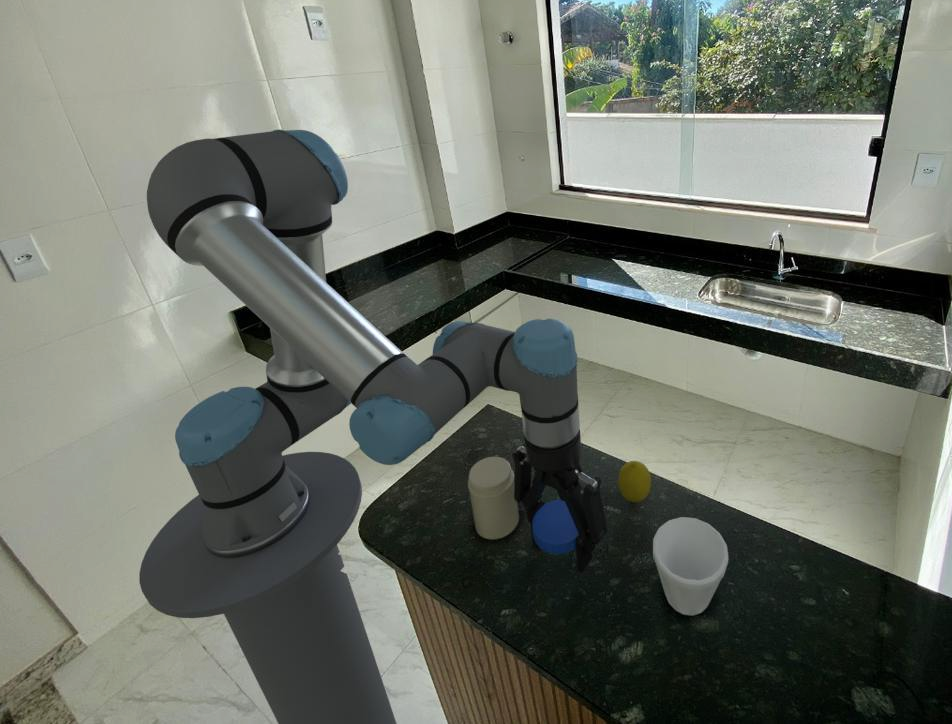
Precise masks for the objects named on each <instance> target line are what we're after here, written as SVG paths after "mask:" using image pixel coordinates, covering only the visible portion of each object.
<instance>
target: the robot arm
mask: <svg viewBox="0 0 952 724" xmlns="http://www.w3.org/2000/svg"><path fill="white" fill-rule="evenodd" d="M348 189H349V181H348V175H347V172H346V169H345V166H344V164H343V162H342V160H341V159H340V156H339V155H338V153H336V152H335V150H334V148H333V147H332V146H331V145H330V144H329V143H328V142H327V141H326V140H325V139H323V138H322V136H319V135H318V134H316V133H314V132H312V131H310V130H305V129H288V130H284V129H274V130H271V131H265V132H264V131H263V132H256V133H248V134H239V135H231V136H223V137H216V138H215V137H214V138H202V139H201V138H200V139H196V140H191V141H187V142H185V143H183V144H180V145H177V146H175V147H174V148H173V149H171V150H170V151H169V152H167V153H166V154H165V155H164V156H163V157H162V158H160V160H159V161H158V162H157V164H156V166H155V167H154V168H153V171H152V172H151V174H150V177H149V181H148V184H147V189H146V204H147V211H148V212H147V213H148V215H149V219H150V221H151V224H152V226H153V227H154V229H155V231H156V233H157V235H158V237H159V238H160V239H161V241H163V243H164V244H165V245H166V246H167V247H168V248H169V249H170V250H171V251H172V252H173V253H174V254H175V255H176V256H177V257H178V258H179V259H181V260H182V261H183V262H185V263H186V264H188V265H192V266H198V267H202V266H203V267H204V268H205V269H206V270H207V271H208V272H209V273H210V274H212V275H213V276H214V277H215V278H216V279H217V280H218V281H219V282H220V283H221V284H222V285H224V286H225V287H226V288H227V289H228V290H229V291H230V292H231V293H232V294H233V295H234V296H235V297H236V298H237V299H239V300H240V301H241V303H243V305H245V306H246V307H247V308H248V309H249V310H250V311H251V312H252V313H253V314H255V315H256V316H257V317H258V318H259V319H260V320H261V321H262V322H263V323H264V324H265V325H267V327H268V328H269V331H270V337H271V342H272V343H271V344H272V351H273V355H272V356H271V357H270V358H269V359H268V361H267V362H266V365H265V376H266V382H264V383H262V384H261V385H259V386H257V387H255V388H254V387H252V386H236V387H233V388H230V389H228V390H226V391H225V390H222V391H219V392H217V393H215V394H213V395H212V394H211V396H208V397H207V398H205V399H203V400H202V401H200V402H199V403H197V404H196V405H194V406H193V407H192V408H191V409H190V410H189V411H188V412H187V413H185V415H183V417H182V418H181V419H180V421H179V423H178V425H177V427H176V429H175V433H174V440H175V443H176V445H177V448H178V452H179V453H178V455H179V459H180V461H181V462H182V463H183V464H184V465H185V467H186V470H187V472H188V474H189V476H190V477H191V480H192V483H193V485H194V487H195V490H196V491H197V493H198V495H199V496H200V497H201V500H202V502H203V504H204V506H203V524H202V538H203V541H204V544H205V546H206V548H207V550H208V551H209V552H210V553H211V554H213V555H215V556H217V557H221V558H236V557H241V556H246V555H249V554H252V553H255V552H257V551H260V550H262V549H264V548H266V547H268V546H270V545H272V544H274V543H275V542H277V541H278V540H280V539H281V538H283V537H284V536H285V535H287V534H288V533H289V532H290V531H291V530H292V529H293V528H295V526H296V525H297V524H298V523H299V522H300V521H301V520H302V518H303V517H304V515H305V514H306V512H307V510H308V507H309V504H310V495H309V492H308V489H307V486H306V485H305V483H304V482H303V481H302V480H301V479H300V478H299V477H298V476H297V475H296V474H295V473H294V472H293V471H291V470H290V469H289V468H288V467H287V466H286V465H285V462H284V459H283V454H282V453H283V452H284V451H286V450H287V449H289V448H290V447H291V446H293V445H294V444H296V443H297V442H299V441H300V440H302V439H303V438H305V437H306V436H308V435H310V434H312V432H314V431H316V430H317V429H318V428H320V427H321V426H323V425H324V424H326V423H327V422H329V421H331V420H332V419H333V418H335V417H336V416H339V414H341V413H343V411H344V410H345V409H346V408H347V407H349V406H351V405H352V406H354V407H355V409H354V410H353V411H352V413H351V414H350V417H349V421H348V422H349V423H348V426H349V427H348V428H349V430H350V434H351V437H352V438H353V440H354V441H355V442H357V443H358V446H359V449H360V450H361V452H362V453H363V454H364V455H365V456H367V457H368V458H369V459H370V460H372V461H374V462H376V463H378V464H380V465H384V466H393V465H398V464H401V463H402V462H404V461H405V460H407V459H408V458H409V457H410V456H412V455H413V454H414V453H415V452H417V451H418V450H419V449H420V448H421V447H423V446H424V445H426V444H427V443H428V442H431V441H432V440H433V438H434V437H435V435H436V434H437V433H438V432H439V431H441V429H443V428H444V427H445V425H447V424H448V423H449V422H451V420H452V419H453V418H454V417H456V416H457V415H458V414H459V413H460V412H461V411H463V409H464V408H466V407H467V406H468V405H470V403H471V402H473V401H474V400H475V399H476V398H477V397H478V396H479V395H481V394H482V393H483V391H485V390H486V389H487V388H489V387H492V388H495V389H500V390H504V391H507V392H514V393H517V394H518V396H519V404H520V411H521V421H522V432H523V437H524V438H523V439H524V442H523V443H522V444H521V445H520V446H519V447H518V448H517V449H516V450H514V451H513V453H511V454H512V455H511V456H512V459H513V463H514V479H515V485H514V499H515V501H516V502H517V503H518V504H519V503H522V504H523V508H524V509H525V511H526V518H527V521H528V523H529V524H530V531H531V540H532V545H533V546H535V547H538V545H537V544H536V542H535V540H534V538H533V530H532V523H533V518H534V516H535V514H536V512H537V511H538V510H539V509H540V508H541V507H542V506H543V505H544V504H546V503H545V502H544V501H543V500H541V498H542V497H544V496H543V493H544V491H545V488H546V486H547V487H550V488H552V489H554V490H555V491H556V492H557V494H558V497H559V499H561V501H565V503H566V505H567V508H568V510H569V512H570V515H571V517H572V519H573V522H574V524H575V526H576V529H577V531H578V533H579V535H578V536H577V537H576V548H575V553H576V564H577V565H576V566H577V568H576V569H577V571H578V572H580V573H583V572H584V571H585V570H586V568H587V566H588V565H589V564H590V562H591V560H592V559H593V551H594V550H595V549H596V545H599V543H600V542H601V540H602V539H603V537H604V536H605V535H606V533H607V531H608V525H607V521H606V516H605V511H604V505H603V500H602V496H601V484H602V478H601V477H600V476H599V475H593V476H592V478H591V477H590V476H589V475H588V474H585V473H584V469H583V467H582V465H581V462H580V460H581V454H582V437H581V429H580V427H581V423H580V406H579V394H578V353H577V350H576V342H575V334H574V332H573V330H572V328H571V327H570V326H569V325H568V324H567V323H565V322H564V321H562V320H558V319H555V318H546V319H541V318H536V319H532V320H529V321H527V322H523V323H522V324H520V326H518V327H517V328H516V330H515V331H513V330H510V329H509V330H508V329H504V328H500V327H495V326H491V325H487V324H484V323H481V322H470V321H462V320H456V321H452V322H450V323H448V324H446V325H445V326H444V327H442V328H441V331H440V334H439V335H437V336H436V338H435V340H434V343H433V347H432V354H431V355H430V356H428V357H427V358H426V359H423V361H421V362H420V363H418V364H417V363H416V362H415V361H414V360H413V359H411V358H410V357H409V356H407V355H406V353H404V352H403V351H402V350H401V349H400V348H399V347H398V346H396V345H395V343H393V342H392V341H391V340H390V339H389V338H388V337H386V335H384V334H383V333H382V332H381V331H380V330H379V329H378V328H377V327H376V326H374V325H373V324H372V323H371V322H370V321H369V320H368V319H367V318H366V317H365V316H364V315H362V314H361V313H360V311H358V310H357V309H356V308H355V307H354V306H352V304H350V303H349V302H348V301H347V300H346V299H345V298H344V297H343V296H342V295H340V294H339V293H338V292H337V291H336V290H335V288H333V287H332V286H331V285H329V284H328V282H327V275H326V263H325V251H324V240H323V234H324V233H325V232H327V231H329V230H330V228H331V227H332V225H333V211H332V206H334V205H338V204H340V202H342V201H343V199H344V198H345V197H346V196H347V194H348V191H349V190H348ZM532 469H533V470H534V476H533V478H532Z"/></svg>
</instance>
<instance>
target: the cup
mask: <svg viewBox="0 0 952 724" xmlns="http://www.w3.org/2000/svg"><path fill="white" fill-rule="evenodd" d="M652 559H653V561H654V563H655V565H656V570H657V573H658V576H659V579H660V582H661V586H662V588H663V589H662V590H663V592H664V595H665V597H666V600H667V602H668V604H669V605H670V606H671V608H672V609H673V610H674V611H675V612H677V613H679V614H681V615H683V616H690V617H693V616H697V615H700V614H702V613H703V612H704V611H705V610H706V609H707V608H708V606H709V605H710V603H711V601H712V599H713V597H714V595H715V593H716V591H717V589H718V587H719V585H720V582H721V581H722V579H723V578H724V577H725V574H726V571H727V568H728V565H729V551H728V545H727V543H726V542H725V539H724V538H723V536H722V534H721V533H720V532H719V531H717V529H716V528H714V527H713V526H712V525H711V524H709V523H708V522H706V521H703V520H700V519H698V518H696V517H685V516H680V517H677V518H672V519H669V520H668V521H666V522H664V523H663V524H662V525H661V526H660V527H658V529H657V531H656V532H655V534H654V537H653V538H652Z"/></svg>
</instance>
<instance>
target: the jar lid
mask: <svg viewBox="0 0 952 724" xmlns="http://www.w3.org/2000/svg"><path fill="white" fill-rule="evenodd" d="M532 530H533V538H534V540H535V542H536V544H537V547H538V548H539V549H540V550H542V551H544V552H545V553H548V554H552V555H562V554H566V553H567V554H568V553H570V552H572V551H573V550H576V537H577V536H578V535H579V533H578V531H577V529H576V526H575V524H574V522H573V519H572V517H571V515H570V512H569V510H568V508H567V505H566V503H565V501H561V499H560V498H559V499H555V500H551V501H548V502H546V503H545V504H544V505H543V506H542V507H541V508H540V509H539V510H538V511H537V512H536V514H535V516H534V518H533V523H532Z"/></svg>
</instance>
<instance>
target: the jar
mask: <svg viewBox="0 0 952 724" xmlns="http://www.w3.org/2000/svg"><path fill="white" fill-rule="evenodd" d="M514 485H515V472H514V470H513V469H512V468H511V464H510V462H509V461H508V460H507V459H505V458H504V457H500V456H488V457H485V458H482V459H480V460H479V461H477V462H476V463H474V465H472V467H471V468H470V470H469V473H468V480H467V488H468V495H469V500H470V505H471V512H472V517H473V523H474V529H475V531H476V533H477V534H478V535H479V536H480V537H481V538H484V539H487V540H498V539H499V540H500V539H502V538H505V537H506V536H508V535H510V534H511V533H512V532H513V531H514V530H515V529H516V527H517V526H518V524H519V521H520V513H519V512H520V511H519V503H518V502H516V501H515V499H514Z"/></svg>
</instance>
